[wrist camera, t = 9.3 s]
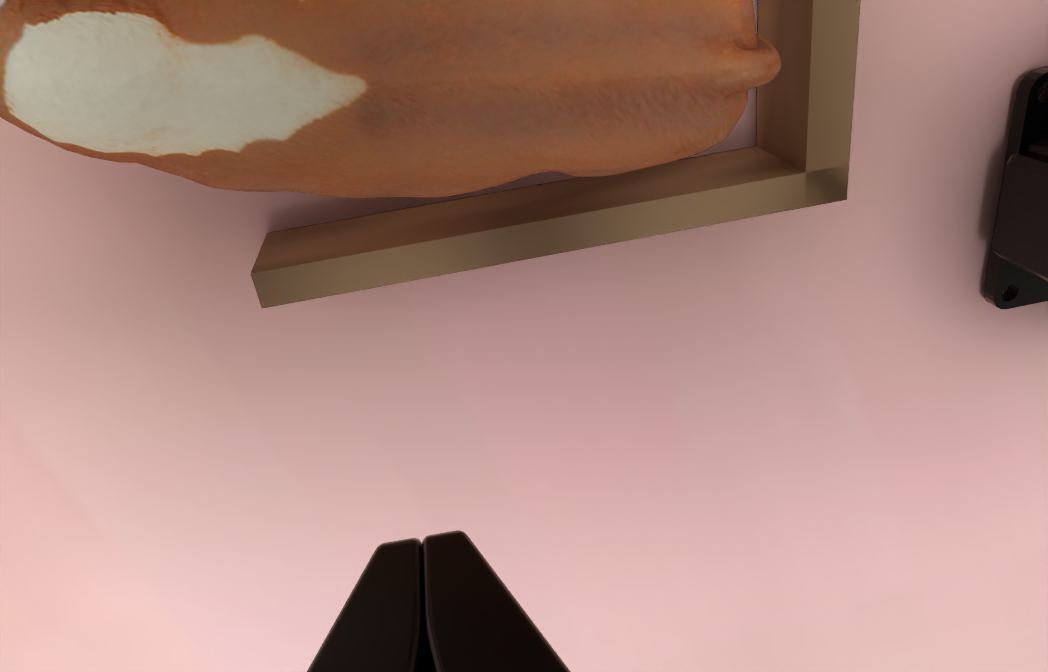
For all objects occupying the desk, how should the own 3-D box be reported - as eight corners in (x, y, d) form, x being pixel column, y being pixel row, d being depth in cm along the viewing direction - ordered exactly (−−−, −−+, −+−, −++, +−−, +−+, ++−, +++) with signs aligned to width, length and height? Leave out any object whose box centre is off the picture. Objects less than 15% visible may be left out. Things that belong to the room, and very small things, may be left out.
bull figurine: (-22, -141, 14) (-449, -236, 7) (672, -53, 17) (894, -53, 9) (22, 105, 16) (-276, 234, 9) (638, 149, 18) (801, 277, 11)
